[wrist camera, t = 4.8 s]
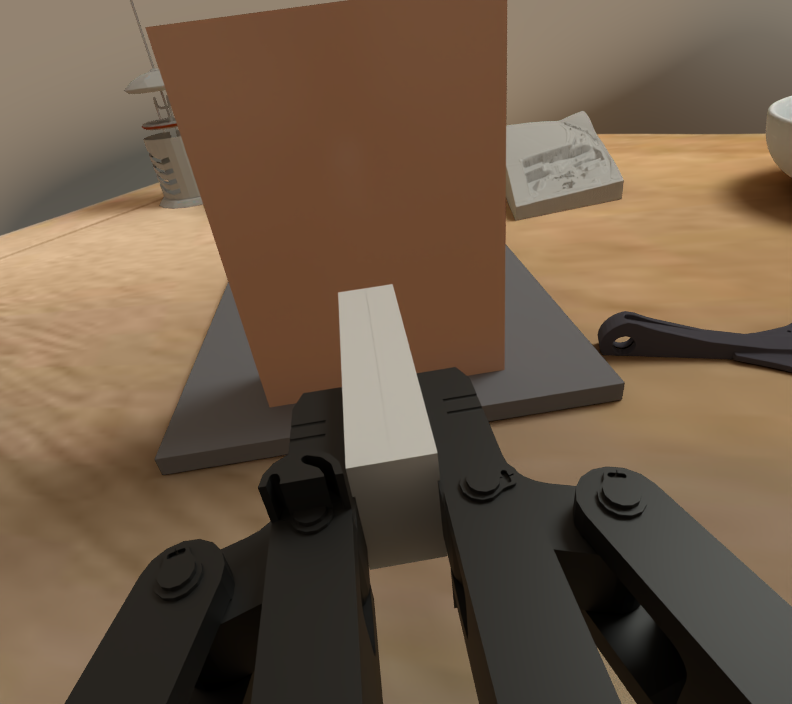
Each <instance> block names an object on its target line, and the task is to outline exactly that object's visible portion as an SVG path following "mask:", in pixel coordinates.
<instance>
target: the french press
mask: <svg viewBox="0 0 792 704" xmlns="http://www.w3.org/2000/svg"><path fill="white" fill-rule="evenodd" d="M130 2H131V5H132V8H133V11H134V14H135V17H136V20H137V23H138V26H139V29H140V32H141V35H142V38H143V41H144V44H145V47H146V50H147V53H148V56H149V59H150V62H151V65H152V68H153V69H151V70H150V72H148V73H145V74H143V75H140V76H138V77H137V78H136V79H134V80H133V81H132V82H131V83H130V84H129V85H128V86H127V88H126V89H125V90H124V91H125V92H127V93H128V94H141V93H149V92H156V91H160V92H161V95H162V98H163V101H164V104H165V106H164V107H159V106H158V104H157V101H156V99H155V97H153V100H154V104H155V107H156V110H157V113H158V116H159V119H160V120H155V121H151V122H147V123H145V124H143V126H142V128H144V129H146V130H159V129H163V131H164V133H159V134H155V135H151V136H149V137H146V138H144V143H145V145H146V148H147V151H148V152H149V156H150V159H151V162H152V163H153V167H154V170H155V172H156V173H157V178H158V181H159V182H160V186H161V189H162V192H163V194H164V197H163V199H162V201H161V203H160V205H159V206H161V207H163V208H173V209H174V208H185V207H191V206H197V205H202V204H203V202H202V199H201V196H200V193H199V190H198V187H197V184H196V181H195V178H194V175H193V172H192V169H191V165H190V162H189V159H188V156H187V153H186V150H185V147H184V144H183V141H182V138H181V135H180V132H179V130H178V129H177V127H178V126H177V123H176V120H175V118H174V116H173V113H172V109H171V104H170V101H169V98H168V95H167V96H166V98H167V103H168V106H167V105H166V101H165V98H164V95H163V92H162V91H163V90H166V89H165V86H164V83H163V80H162V77H161V74H160V71H159V69H156V68H154V65H153V62H152V59H151V56H150V53H149V50H148V47H147V44H146V41H145V38H144V35H143V32H142V29H141V25H140V23H139V20H138V16H137V13H136V10H135V8H134V4H133V1H132V0H130ZM158 108H159V109H166V110H167V113H168V116H169V117H168V118H167V119H166V118H165V119H166V120H164V119H161V116H160V113H159V110H158ZM168 108H169V110H170V113H171V116H170V113H169V111H168ZM156 121H157V122H156ZM174 127H175V128H176V134H177V137H174V138H171V135H170V132H165V129H168V128H174ZM152 157H155V158H158V159H161V161H162V163H160V162H155V161H154V160H153V159H152ZM155 167H157V168H159V169H162V170H165V172H166V173H165V172H158V171H157V170H156V169H155ZM159 177H161V178H162V179H165V180H168V181H169V182H166V181H163V182H162V181H161V180H160V179H159Z"/></svg>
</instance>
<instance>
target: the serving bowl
mask: <svg viewBox="0 0 792 704" xmlns="http://www.w3.org/2000/svg"><path fill="white" fill-rule="evenodd" d="M766 141H767V146H768V149H769V152H770V154H771V156H772V158H773V160H774V162H775V163H776V164H777V165H778V167H779V168H780V169H781V170H782V171H783V172H784V173H786V174H787V175H788V176H790V177H791V178H792V96H790V97H787V98H784V99H781V100H779V101H777V102H775V103H774V104H772V105H771V106H770V107H769V109H768V114H767V122H766Z"/></svg>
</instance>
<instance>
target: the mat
mask: <svg viewBox="0 0 792 704" xmlns="http://www.w3.org/2000/svg"><path fill="white" fill-rule="evenodd" d="M468 377H469V378H470V379H471V382H472V384H473V387H474V389H475V391H476V394H477V397H478V398H479V401H480V403H481V405H482V409H483V410H484V413H485V415H486V417H487V420H488V421H494V420H500V419H506V418H512V417H518V416H524V415H530V414H537V413H543V412H549V411H555V410H561V409H567V408H573V407H579V406H585V405H591V404H597V403H604V402H610V401H616V400H622V396H623V390H624V384H625V383H624V381H623V380H622V379H621V378H620V377H619V376H618V374H617V373H616V372H615V371H614V370H613V369H612V367H611V366H610V365H609V364H608V363H607V362H606V360H605V359H604V358H603V357H602V356H601V355H600V354H599V352H598V351H597V350H596V349H595V348H594V347H593V345H592V344H591V343H590V342H589V341H588V340H587V338H586V337H585V336H584V335H583V334H582V333H581V331H580V330H579V329H578V328H577V327H576V326H575V324H574V323H573V322H572V321H571V320H570V319H569V317H568V316H567V315H566V314H565V313H564V312H563V310H562V309H561V308H560V307H559V306H558V305H557V303H556V302H555V301H554V300H553V299H552V298H551V296H550V295H549V294H548V293H547V292H546V291H545V289H544V288H543V287H542V286H541V285H540V284H539V282H538V281H537V280H536V279H535V278H534V277H533V275H532V274H531V273H530V272H529V271H528V270H527V269H526V267H525V266H524V265H523V264H522V263H521V262H520V260H519V259H518V258H517V257H516V256H515V255H514V253H513V252H512V251H511V250H510V249H509V248H508V246H507V245H506V244H505V370H500V371H494V372H487V373H481V374H475V375H469V376H468ZM295 405H296V403H295V404H288V405H282V406H276V407H269V404H268V401H267V398H266V395H265V392H264V389H263V386H262V383H261V380H260V377H259V374H258V370H257V367H256V364H255V361H254V358H253V355H252V352H251V349H250V346H249V343H248V340H247V337H246V334H245V331H244V328H243V325H242V322H241V318H240V315H239V312H238V309H237V306H236V303H235V300H234V297H233V294H232V291H231V288H230V285H229V282H228V284H227V287H226V289H225V292H224V294H223V296H222V299H221V301H220V304H219V306H218V308H217V311H216V313H215V315H214V318H213V320H212V323H211V325H210V327H209V330H208V332H207V335H206V337H205V339H204V342H203V344H202V347H201V349H200V351H199V354H198V356H197V359H196V361H195V363H194V366H193V368H192V371H191V373H190V375H189V378H188V380H187V383H186V385H185V387H184V390H183V392H182V395H181V397H180V399H179V402H178V404H177V407H176V409H175V411H174V414H173V416H172V419H171V421H170V423H169V426H168V428H167V431H166V433H165V435H164V438H163V440H162V443H161V445H160V447H159V450H158V452H157V455H156V457H155V459H154V460H155V462H156V463H157V465H158V467H159V469H160V471H161V473H162V475H165V474H171V473H177V472H183V471H189V470H196V469H202V468H208V467H214V466H220V465H226V464H232V463H238V462H244V461H250V460H256V459H262V458H269V457H275V456H281V455H287V454H288V451H289V443H290V430H291V420H292V409H293V408H294V406H295Z"/></svg>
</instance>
